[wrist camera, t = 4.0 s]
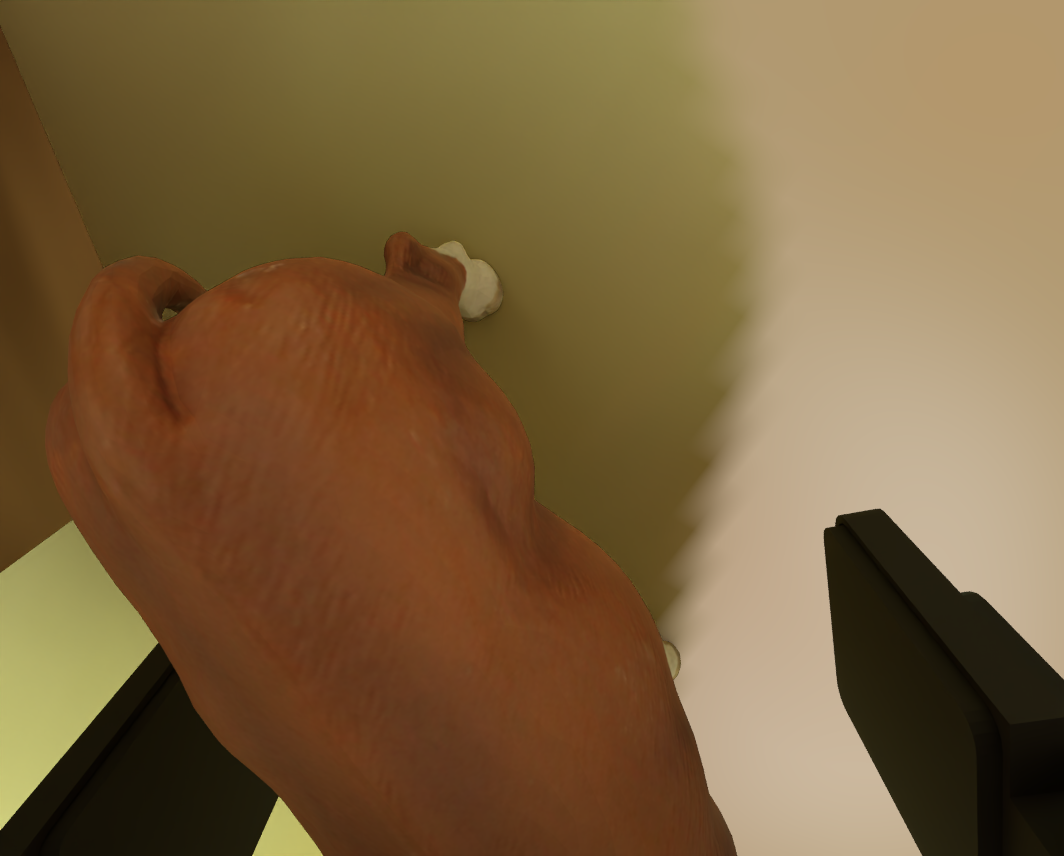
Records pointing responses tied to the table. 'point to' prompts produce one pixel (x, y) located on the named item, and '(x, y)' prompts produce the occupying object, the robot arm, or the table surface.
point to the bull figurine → (370, 563)
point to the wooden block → (33, 311)
